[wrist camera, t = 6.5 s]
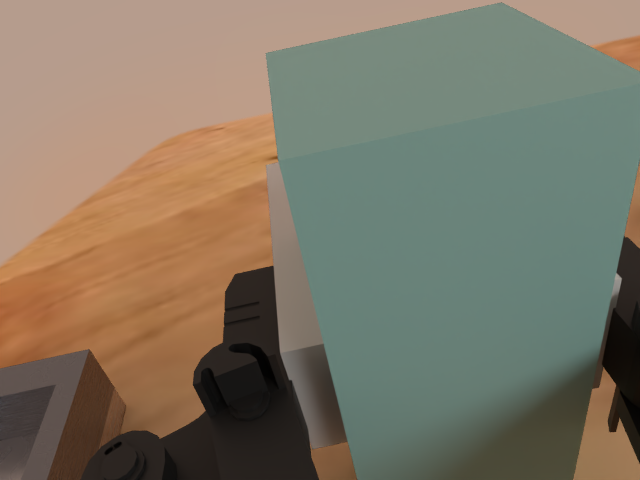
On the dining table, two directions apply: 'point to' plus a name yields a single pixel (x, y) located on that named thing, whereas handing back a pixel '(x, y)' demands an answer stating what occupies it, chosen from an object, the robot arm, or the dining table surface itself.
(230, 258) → the dining table surface
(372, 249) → the sage green upright block
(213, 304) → the dining table surface
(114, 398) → the compartment tray
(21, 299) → the dining table surface
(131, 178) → the dining table surface
